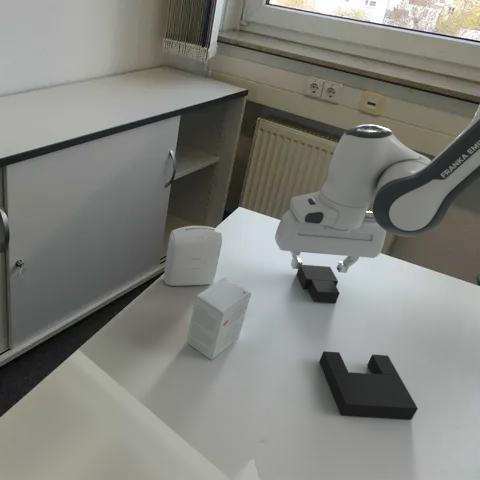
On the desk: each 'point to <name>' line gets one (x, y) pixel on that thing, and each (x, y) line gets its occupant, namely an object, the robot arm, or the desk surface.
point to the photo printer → (192, 256)
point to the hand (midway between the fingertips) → (318, 269)
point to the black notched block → (368, 388)
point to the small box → (217, 317)
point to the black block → (319, 283)
